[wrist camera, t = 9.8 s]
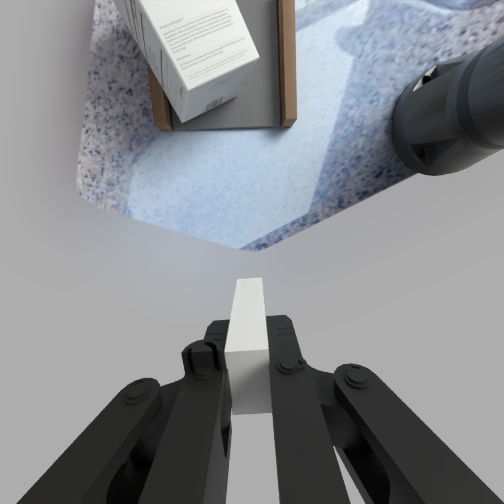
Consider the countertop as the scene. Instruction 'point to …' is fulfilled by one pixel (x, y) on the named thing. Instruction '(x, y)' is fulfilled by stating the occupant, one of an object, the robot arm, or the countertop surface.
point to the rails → (285, 64)
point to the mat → (249, 79)
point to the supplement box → (193, 49)
